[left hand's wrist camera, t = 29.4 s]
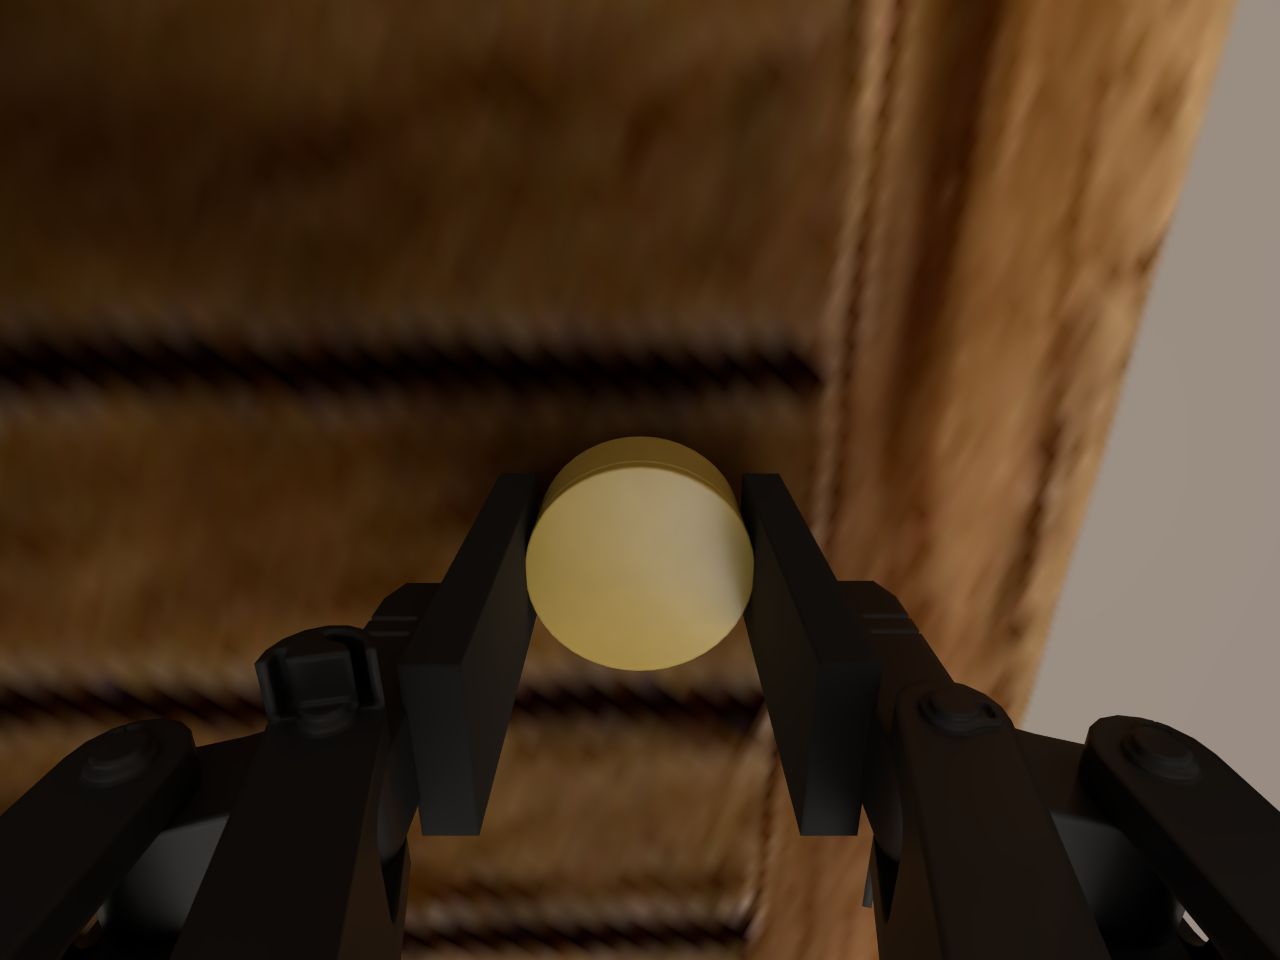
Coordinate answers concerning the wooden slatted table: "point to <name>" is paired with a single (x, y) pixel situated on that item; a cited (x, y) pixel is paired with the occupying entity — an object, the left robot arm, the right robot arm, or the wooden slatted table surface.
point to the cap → (639, 555)
